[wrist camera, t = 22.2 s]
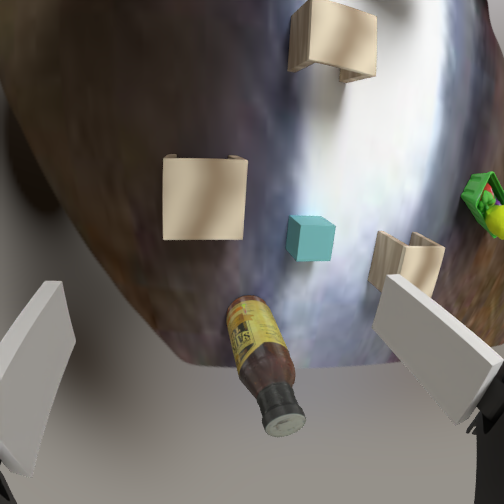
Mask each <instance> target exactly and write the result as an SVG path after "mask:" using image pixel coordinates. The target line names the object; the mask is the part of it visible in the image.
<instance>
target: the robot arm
mask: <svg viewBox="0 0 504 504" xmlns="http://www.w3.org/2000/svg"><path fill="white" fill-rule="evenodd" d="M372 329H373V330H374V331H375V332H376V333H377V334H378V335H379V336H380V338H381V339H382V340H383V341H384V342H385V343H386V344H387V346H388V347H389V348H390V349H391V350H392V351H393V352H394V354H395V355H396V356H397V357H398V358H399V359H400V360H401V362H402V363H403V364H404V365H405V366H406V367H407V369H408V370H409V371H410V372H411V373H412V374H413V375H414V377H415V378H416V379H417V380H418V381H419V383H420V384H421V385H422V386H423V387H424V389H425V390H426V391H427V392H428V393H429V394H430V396H431V397H432V398H433V399H434V401H436V403H437V404H438V405H439V407H441V409H442V410H443V411H444V413H445V414H446V415H447V416H448V418H449V419H450V420H451V421H452V422H453V424H454V425H458V424H460V423H461V422H463V421H465V420H467V419H468V418H469V417H470V415H471V414H472V412H473V411H474V409H475V408H476V407H478V409H479V410H480V412H479V413H478V414H477V416H476V417H475V419H474V420H473V422H472V423H471V424H470V426H469V427H468V428H467V431H466V433H469V432H470V431H471V429H472V428H473V427H474V426H476V428H475V429H474V431H473V432H472V434H474V435H477V470H476V488H475V501H474V504H504V359H503V358H501V356H499V355H498V354H497V353H496V352H495V351H494V350H493V349H492V348H490V347H489V346H488V345H487V344H486V343H485V342H484V341H482V340H481V339H480V338H479V337H478V336H477V335H475V334H474V333H473V332H472V331H471V330H469V329H468V328H467V327H466V326H465V325H463V324H462V323H461V322H460V321H459V320H457V319H456V318H455V317H454V316H452V315H451V314H450V313H449V312H447V311H446V310H445V309H444V308H443V307H441V306H440V305H439V304H437V303H436V302H435V301H434V300H432V299H431V298H430V297H429V296H427V295H426V294H425V293H423V292H422V291H421V290H420V289H418V288H417V287H416V286H414V285H413V284H412V283H410V282H409V281H408V280H407V279H405V278H404V277H403V276H401V275H400V274H392V275H386V278H385V282H384V286H383V290H382V294H381V297H380V301H379V305H378V308H377V312H376V315H375V319H374V322H373V325H372ZM75 343H76V339H75V335H74V332H73V328H72V324H71V320H70V316H69V312H68V307H67V303H66V298H65V294H64V289H63V283H62V281H45V282H44V283H43V284H42V286H41V287H40V288H39V289H38V291H37V292H36V293H35V294H34V296H33V297H32V298H31V300H30V301H29V302H28V304H27V305H26V306H25V308H24V309H23V310H22V312H21V313H20V315H19V316H18V317H17V319H16V320H15V322H14V323H13V324H12V326H11V327H10V329H9V330H8V332H7V333H6V335H5V336H4V338H3V339H2V341H1V342H0V464H1V461H2V462H3V464H4V465H5V466H6V467H7V468H8V469H9V470H10V471H11V472H13V473H16V474H19V475H23V476H26V477H30V478H32V476H33V472H34V467H35V463H36V459H37V455H38V451H39V448H40V444H41V440H42V437H43V433H44V430H45V427H46V423H47V420H48V417H49V414H50V410H51V407H52V404H53V401H54V398H55V395H56V392H57V390H58V387H59V384H60V381H61V378H62V376H63V373H64V370H65V368H66V365H67V363H68V360H69V357H70V355H71V352H72V350H73V347H74V345H75ZM0 504H17V503H16V501H15V499H14V497H13V495H12V493H11V491H10V489H9V486H8V484H7V482H6V480H5V478H4V476H3V474H2V473H1V471H0Z"/></svg>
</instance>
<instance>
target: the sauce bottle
mask: <svg viewBox="0 0 504 504" xmlns="http://www.w3.org/2000/svg"><path fill="white" fill-rule="evenodd" d="M227 327H228V332H229V336H230V341H231V345H232V349H233V354H234V358H235V362H236V367H237V371H238V375H239V379H240V380H241V381H242V383H243V384H244V385H245V386H246V388H247V389H248V390H249V391H250V392H251V393H252V395H253V396H254V397H255V398H256V399H257V403H258V404H259V407H260V410H261V413H262V416H263V418H262V424H263V426H264V429H265V431H266V433H267V434H268V435H271V436H274V437H283V436H288V435H291V434H293V433H295V432H297V431H298V430H300V429H301V428H302V427H303V426H304V424H305V422H306V417H305V415H304V412H303V410H302V408H301V407H300V406H299V405H298V402H297V400H296V399H295V396H294V391H293V389H292V385H293V384H294V381H295V368H294V364H293V362H292V360H291V358H290V354H289V351H288V349H287V346H286V344H285V342H284V340H283V337H282V335H281V333H280V331H279V328H278V326H277V324H276V322H275V319H274V317H273V315H272V313H271V310H270V308H269V307H268V306H267V305H266V303H265V301H264V300H263V299H261V298H259V297H256V296H254V295H253V296H251V295H247V296H242V297H240V298H238V299H236V300H235V301H234V302H233V303H232V304H231V305H230V306H229V308H228V311H227Z"/></svg>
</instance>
